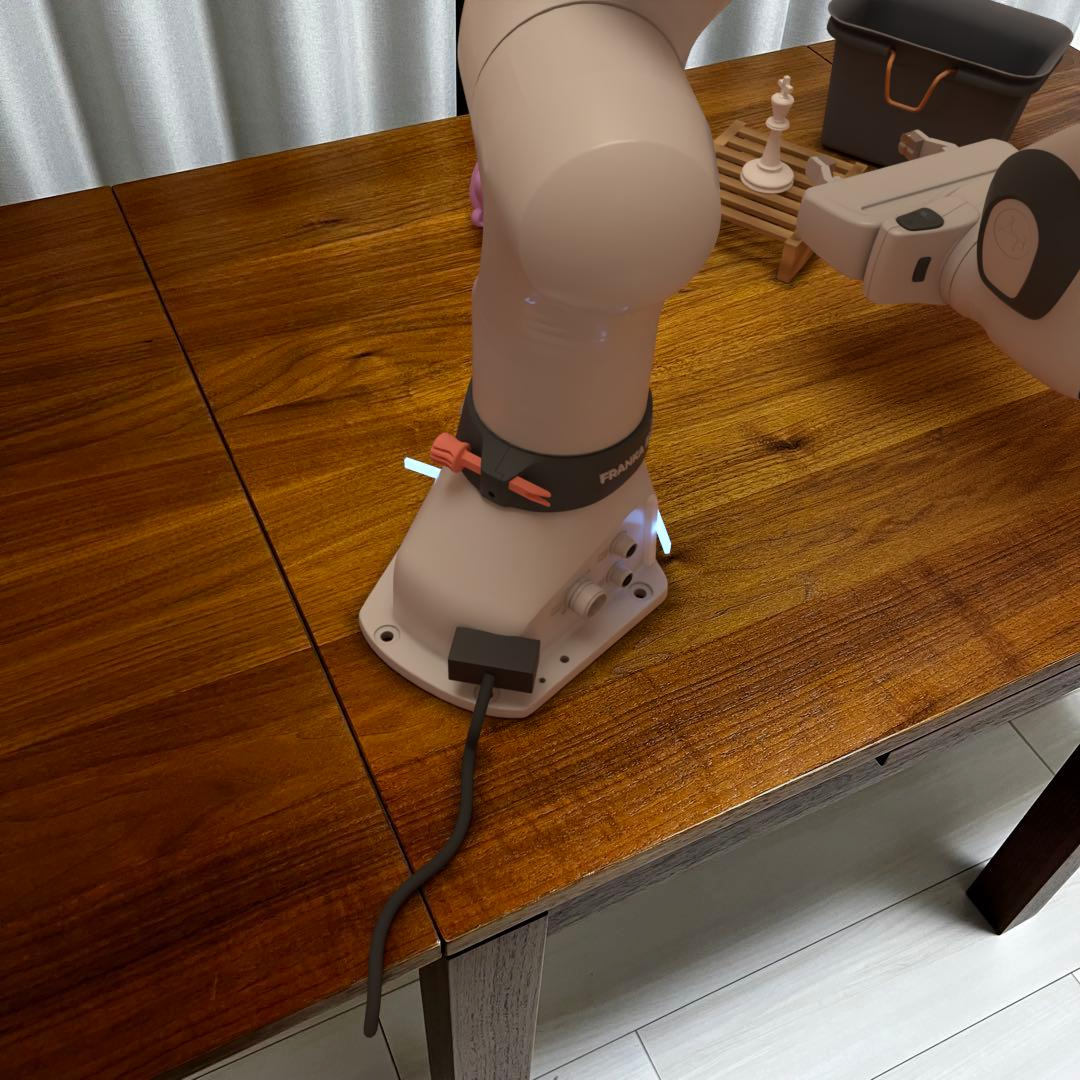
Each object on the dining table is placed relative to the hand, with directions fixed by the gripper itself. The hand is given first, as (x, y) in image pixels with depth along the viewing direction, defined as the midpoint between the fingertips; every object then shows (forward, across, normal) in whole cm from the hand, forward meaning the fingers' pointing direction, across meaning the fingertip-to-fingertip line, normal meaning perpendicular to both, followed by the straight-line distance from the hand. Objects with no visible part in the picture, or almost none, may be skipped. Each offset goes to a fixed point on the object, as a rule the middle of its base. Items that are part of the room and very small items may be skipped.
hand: (860, 151), depth 97 cm
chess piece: (+11, 0, +9) cm, 14 cm away
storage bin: (+13, -20, +13) cm, 27 cm away
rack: (+11, 0, +13) cm, 17 cm away
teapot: (+20, +20, +13) cm, 31 cm away
